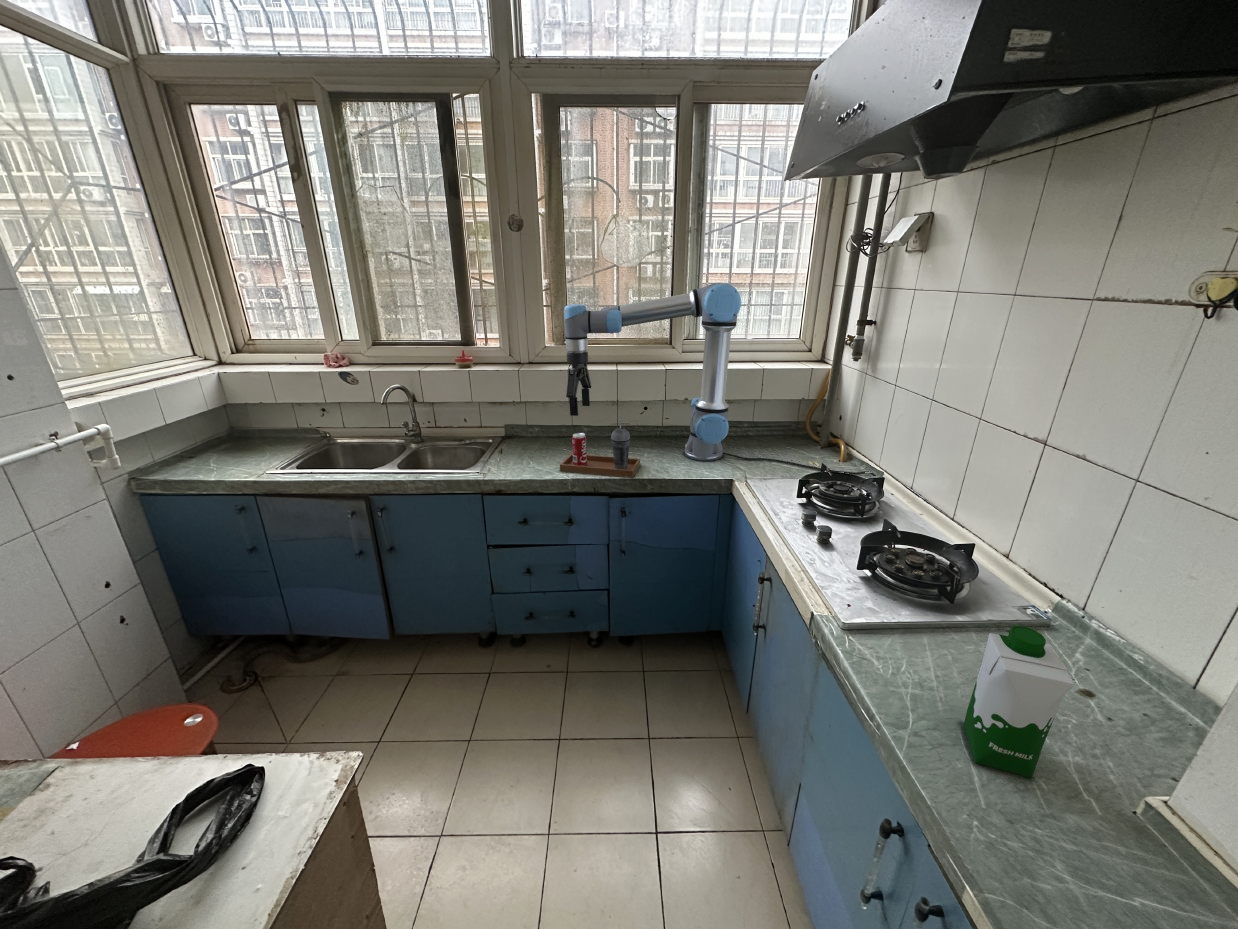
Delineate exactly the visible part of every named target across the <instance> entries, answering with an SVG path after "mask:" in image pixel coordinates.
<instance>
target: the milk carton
mask: <svg viewBox="0 0 1238 929" xmlns="http://www.w3.org/2000/svg"><path fill="white" fill-rule="evenodd" d="M1046 642H1047V640H1046V638H1045V636H1044V635H1042V634H1041V633H1040V632H1039V631H1037V630H1035V629H1033V628H1030V627H1027V626H1022V625H1013V626H1011V627H1010V628H1009V632H1008V634H1007V635H1005V634H997V633H991V632H990V633H989V634H988V638H987V642H986V646H985V650H984V654H983V658H982V662H981V666H980V669H979V672H978V675H977V677H976V680H975V684H974V687H973V690H972V694H971V697H970V699H969V703H968V706H967V708H966V713H965V717H964V722H963V728H964V731H965V733H966V737H967V741H968V743H969V747H970V750H971V753H972V756H973V761H974V763H975V764H978V765H982V766H985V767H989V768H993V769H996V770H1001V771H1004V772H1007V773H1012V774H1015V775H1019V776H1023V777H1026V778H1030V779H1032V778H1033V776H1034V774H1035V770H1036V767H1037V764H1038V762H1039V759H1040V756H1041V752H1042V750H1043V747H1044V744H1045V742H1046V739H1047V738H1048V735H1049V732H1050V731H1051V730H1050V729H1051V728H1052V725H1053V722H1054V720H1055V717H1056V715H1057V713H1058V711H1059V708H1060V705H1061V703H1062V700H1063V699H1064V698H1065V696H1066V695H1067V694H1068V693H1069V692H1070V690H1071V689H1072V688H1073V687H1074V686H1075V682H1074V681H1073V679H1072V677H1071V675H1070V673H1068V668H1067V666H1066V665H1065V664H1064V663H1063V661H1062V660H1061V658H1060V657H1059V655H1058V654H1057V652H1056V651H1055V649H1054V647H1053V646H1052V644H1047V643H1046Z"/></svg>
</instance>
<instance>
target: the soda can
mask: <svg viewBox="0 0 1238 929" xmlns="http://www.w3.org/2000/svg"><path fill="white" fill-rule="evenodd" d="M571 441H572V442H571V444H572V445H571V446H572V454H573V465H578V466H586V465H587V455H588V452H587V451H588V450H587V437H586V433H584V432H577V433H576V432H575V433H573V434H572V437H571Z"/></svg>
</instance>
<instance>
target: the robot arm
mask: <svg viewBox="0 0 1238 929" xmlns="http://www.w3.org/2000/svg"><path fill="white" fill-rule="evenodd" d="M741 307H742V298H741V294H740V292H739V291H738V290H737V288H735V286H733V285H732V284H730V283H726V282H714V283H711V284H708V285H706V286H702V287H697V288H695V289H691V290H690V291H689V292H688V293H681V294H676V295H671V296H665V297H660V298H654V299H647V300H642V301H636V302H632V303H626V304H621V305H615V306H606V307H602V308H601V309H600V310H587V306H586V304H568V305H565V307H564V309H563V313H564V318H563V321H564V331H565V332H564V335H565V341H564V344H565V345H566V346H565V348H566V351H567V352H566V363H567V364H571V367H569V368H568V369H567V371H568V372H567V373H568V374H567V375H568V376H567V384H566V385H567V386H566V395H565V398H566V399H567V398H568V403H569V416H574V417H578V416H579V405H578V397H577V394H578V389H579V383H580V385H581V387H582V388H581V406H582V407H591V402H590V400H591V399H590V389H592V382H591V378H590V373H589V369H588V362H589V352H588V350H589V341H588V340H589V339H588V334H589V335H590V334H611V335H612V334H619V333H621V332H622V329H623V327H629V326H636V325H640V324H641V325H642V324H647V323H653V322H660V321H666V320H671V319H677V318H683V317H688V316H692V317H693V318H699V317H700V318H701V323H700V324H701V327H702V328H703V330H704V332H705V333H704V346H703V356H702V357H703V359H702V371H701V372H702V373H701V384H700V397H695V398H692V399H691V402H690V403H691V404H690V422H689V423H690V424H689V436H688V439H687V442H686V443H685V444H684V446H685V448H684V456H685V457H687V458H688V459H691V460H695V461H701V462H712V461H713V462H714V461H717V460H720V459H722V458H723V457H724V456H729V457H734V458H737V459H740V460H747V461H770V462H776V463H783V464H789V465H793V466H798V467H801V468H802V467H803V468H808V469H813V470H816V471H817V470H818V471H822V470H821V468H822V467H818V466H811V465H808V464H802V463H798V462H792V461H788V460H783V459H782V460H781V459H776V458H767V457H744V456H741V455H737V454H732V453H727V452H724V448H723V444H722V441H723V440H724V439H725V438H726V437H727V436H728V435H729V430H730V425H729V421H728V415H729V404H728V403H727V402H726V392H727V391H726V390H727V379H728V370H729V361H730V360H729V358H730V348H731V337H732V332H733V330H734V329H735V328H737V322H738V315H739V313H740V310H741ZM827 469H828V470H829V471H831V472H830V473H835V472H844V473H849V474H848V475H864V474H866V473H865V472H869V471H868V470H865V471H857V472H855V471H844V470H835V469H829V468H827ZM844 473H843V474H844ZM868 474H869V475H871V476H873V477H877V475H876V474H875V473H874V472H872V473H868Z"/></svg>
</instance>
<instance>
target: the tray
mask: <svg viewBox="0 0 1238 929" xmlns="http://www.w3.org/2000/svg"><path fill="white" fill-rule="evenodd" d="M640 466H641V458H633V457H628V465H627V469H626V470H624V469H615V465H614V456H608V455H596V454H595V455H594V454H587V465H586V466H578V465H573V452H572V453H570V454H569V455H568V456H567V457H566V458H565V459H564V460H563V461H562V462H561V463H560V464H559V471H560V472H566V473H576V474H587V475H596V476H597V475H598V476H599V475H600V476H608V477H610V476H611V477H621V478H634V476H635V475H636V473H637V471H638V470H639V468H640Z"/></svg>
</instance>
